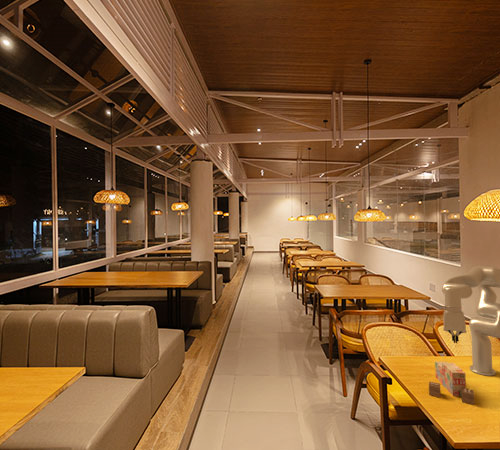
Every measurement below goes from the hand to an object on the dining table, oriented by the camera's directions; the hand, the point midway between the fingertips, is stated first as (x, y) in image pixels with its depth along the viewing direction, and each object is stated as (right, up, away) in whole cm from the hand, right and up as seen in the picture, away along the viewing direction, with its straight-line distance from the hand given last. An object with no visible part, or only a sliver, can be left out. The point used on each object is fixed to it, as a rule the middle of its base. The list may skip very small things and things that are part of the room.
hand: (455, 342), depth 174 cm
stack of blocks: (-5, -23, -3) cm, 24 cm away
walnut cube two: (-5, -23, -18) cm, 29 cm away
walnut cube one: (-17, -23, -10) cm, 31 cm away
